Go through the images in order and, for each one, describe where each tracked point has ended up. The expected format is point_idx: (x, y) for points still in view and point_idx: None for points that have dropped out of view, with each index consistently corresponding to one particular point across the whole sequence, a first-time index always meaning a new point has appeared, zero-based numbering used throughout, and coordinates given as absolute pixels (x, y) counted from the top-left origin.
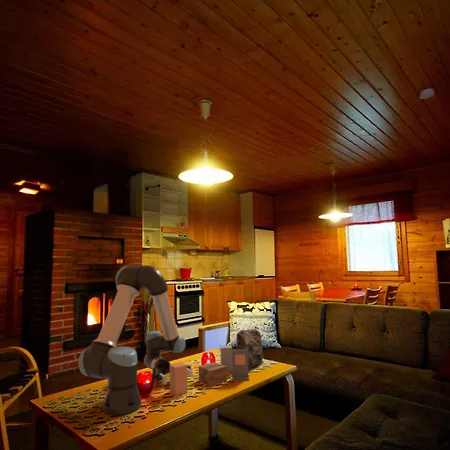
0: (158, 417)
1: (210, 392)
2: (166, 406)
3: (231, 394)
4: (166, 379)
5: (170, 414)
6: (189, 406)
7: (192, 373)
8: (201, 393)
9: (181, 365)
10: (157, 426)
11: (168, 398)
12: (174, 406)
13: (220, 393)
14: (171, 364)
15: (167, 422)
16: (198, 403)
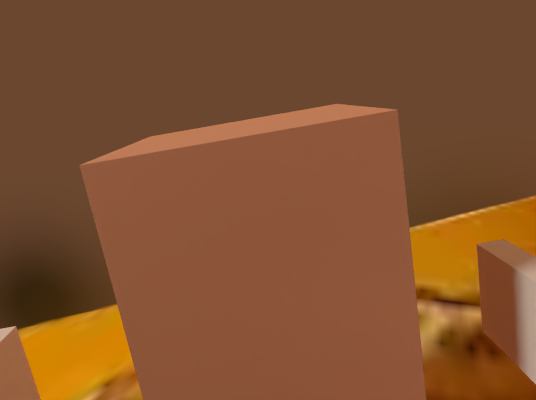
0: (515, 232)
1: (69, 383)
2: (476, 293)
3: (23, 328)
4: (483, 276)
5: (447, 242)
6: None
7: (16, 360)
8: (136, 388)
9: (215, 128)
10: (507, 203)
11: (464, 387)
12: (416, 286)
13: (45, 352)
14: (351, 114)
15: (462, 214)
16: None
